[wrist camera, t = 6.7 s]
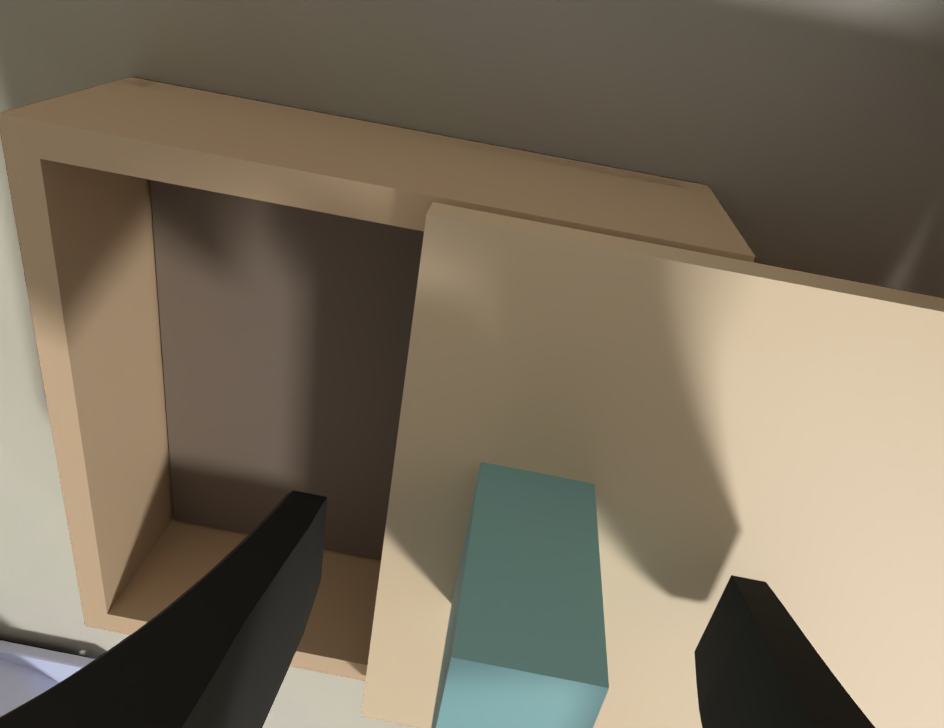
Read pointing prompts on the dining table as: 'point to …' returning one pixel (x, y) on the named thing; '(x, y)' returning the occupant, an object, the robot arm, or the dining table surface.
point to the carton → (255, 320)
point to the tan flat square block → (651, 480)
